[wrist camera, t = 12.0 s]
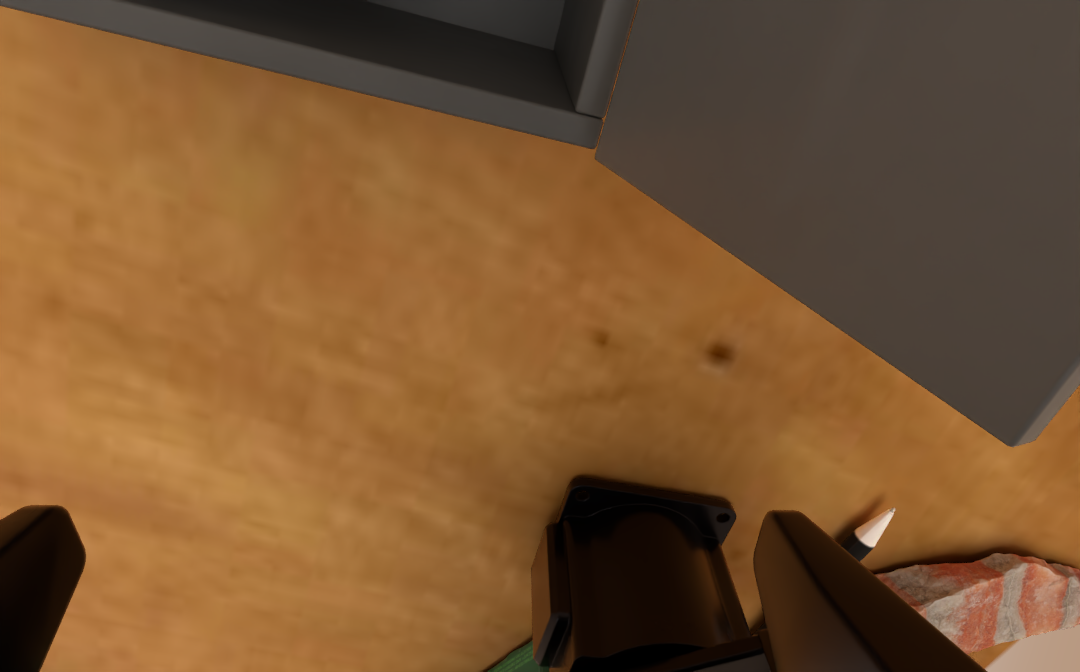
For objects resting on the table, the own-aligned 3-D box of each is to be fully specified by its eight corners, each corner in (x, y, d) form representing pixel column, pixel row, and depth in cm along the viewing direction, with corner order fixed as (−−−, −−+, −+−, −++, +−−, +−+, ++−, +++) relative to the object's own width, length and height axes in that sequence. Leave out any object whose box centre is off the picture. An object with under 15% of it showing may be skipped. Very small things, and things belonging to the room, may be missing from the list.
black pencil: (635, 748, 34) (639, 772, 33) (879, 496, 25) (894, 518, 24) (651, 752, 34) (654, 775, 33) (897, 503, 25) (912, 525, 24)
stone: (1062, 607, 29) (1092, 527, 27) (1107, 659, 27) (1143, 576, 25) (782, 644, 30) (786, 568, 27) (804, 698, 28) (810, 621, 25)
